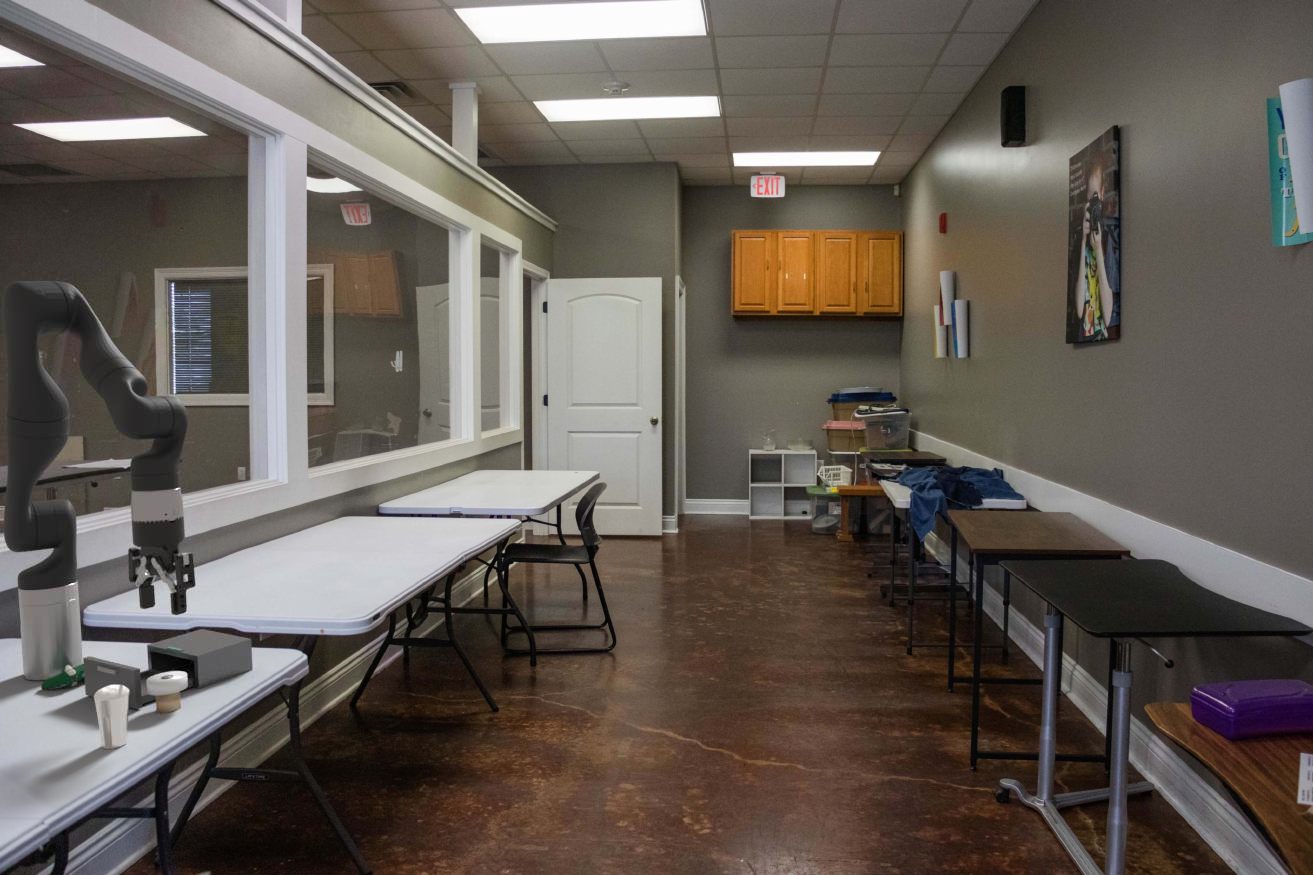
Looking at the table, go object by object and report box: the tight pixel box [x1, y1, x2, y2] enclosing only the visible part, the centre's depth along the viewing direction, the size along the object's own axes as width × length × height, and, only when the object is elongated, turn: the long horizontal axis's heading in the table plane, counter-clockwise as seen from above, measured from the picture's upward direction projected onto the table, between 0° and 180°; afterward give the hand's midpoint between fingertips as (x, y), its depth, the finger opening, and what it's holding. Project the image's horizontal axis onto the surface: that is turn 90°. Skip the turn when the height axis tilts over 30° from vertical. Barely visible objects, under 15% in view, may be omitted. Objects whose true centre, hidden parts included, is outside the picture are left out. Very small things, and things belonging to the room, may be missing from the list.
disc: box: [146, 670, 188, 695], centre depth 143 cm, size 6×6×2 cm
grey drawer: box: [83, 656, 194, 710], centre depth 150 cm, size 11×15×7 cm
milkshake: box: [93, 685, 129, 750], centre depth 129 cm, size 4×5×10 cm
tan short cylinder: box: [155, 691, 182, 714], centre depth 143 cm, size 4×4×4 cm
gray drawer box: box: [146, 628, 253, 689], centre depth 160 cm, size 11×15×6 cm
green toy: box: [40, 655, 100, 691], centre depth 156 cm, size 9×4×6 cm
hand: (163, 610), depth 142 cm, fingers open, 8 cm apart
